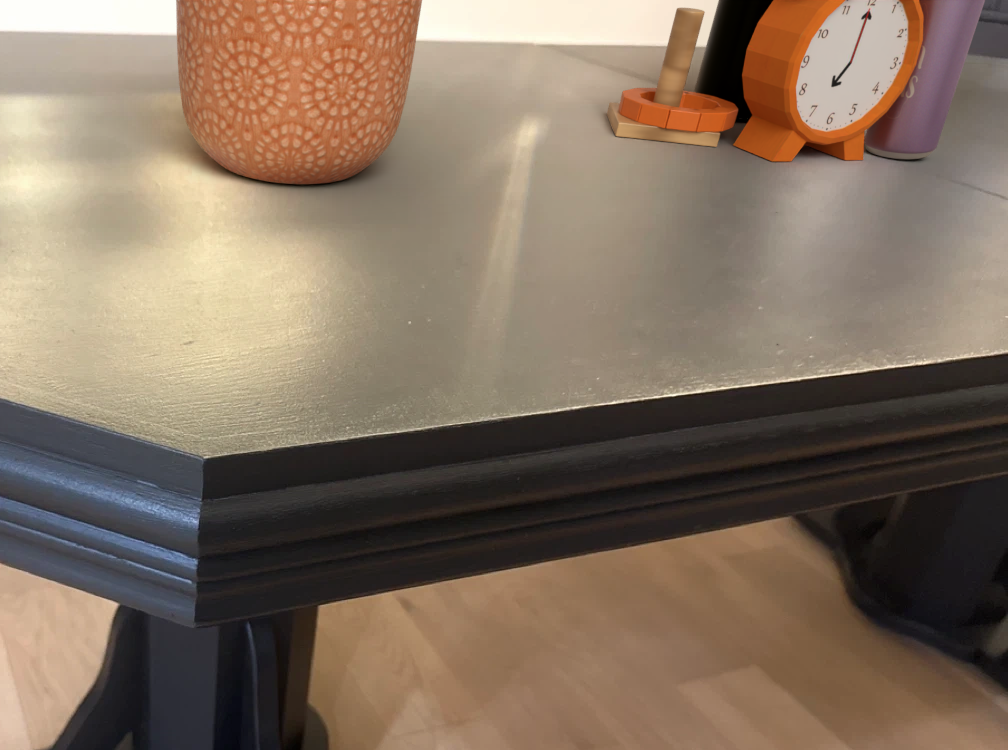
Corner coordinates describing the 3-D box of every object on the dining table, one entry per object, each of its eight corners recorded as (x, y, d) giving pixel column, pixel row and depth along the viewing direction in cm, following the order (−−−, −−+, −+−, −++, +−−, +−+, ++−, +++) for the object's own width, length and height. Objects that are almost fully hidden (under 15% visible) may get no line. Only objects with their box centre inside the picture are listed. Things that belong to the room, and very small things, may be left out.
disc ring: (723, 113, 99) (728, 95, 98) (739, 137, 91) (745, 118, 90) (616, 100, 100) (620, 83, 99) (622, 123, 92) (627, 104, 91)
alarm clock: (761, 163, 88) (850, -111, 77) (716, 144, 93) (793, -117, 81) (882, 161, 92) (983, -101, 81) (833, 143, 97) (922, -107, 85)
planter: (226, 209, 68) (235, -55, 59) (143, 142, 80) (140, -84, 71) (443, 193, 74) (479, -47, 66) (335, 133, 87) (354, -75, 78)
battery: (683, 114, 103) (747, -122, 92) (694, 102, 108) (756, -122, 97) (757, 126, 101) (832, -115, 89) (765, 114, 106) (837, -115, 95)
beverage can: (948, 153, 94) (1011, -34, 85) (907, 164, 91) (968, -27, 82) (888, 139, 98) (942, -41, 89) (847, 149, 95) (899, -34, 87)
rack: (700, 124, 100) (733, 7, 94) (716, 147, 92) (753, 21, 86) (606, 115, 100) (633, -2, 95) (615, 136, 93) (645, 11, 87)
